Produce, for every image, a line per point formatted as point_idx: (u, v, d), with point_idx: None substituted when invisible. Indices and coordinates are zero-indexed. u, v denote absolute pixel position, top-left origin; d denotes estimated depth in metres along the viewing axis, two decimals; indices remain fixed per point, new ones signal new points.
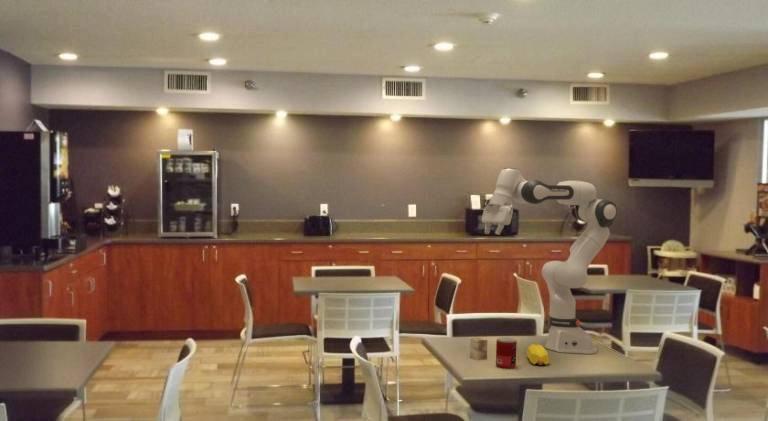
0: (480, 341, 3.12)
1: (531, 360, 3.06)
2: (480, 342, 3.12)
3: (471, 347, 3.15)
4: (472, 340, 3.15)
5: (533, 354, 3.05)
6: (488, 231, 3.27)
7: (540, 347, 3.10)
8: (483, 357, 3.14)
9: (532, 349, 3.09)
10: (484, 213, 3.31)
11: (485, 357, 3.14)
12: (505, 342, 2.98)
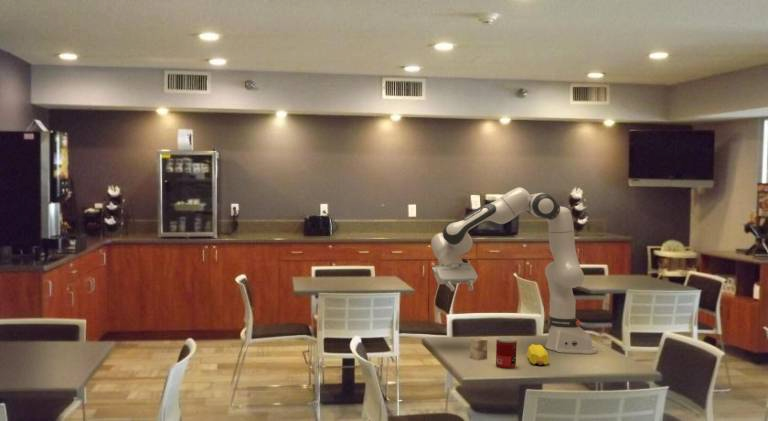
0: (480, 341, 3.12)
1: (531, 360, 3.06)
2: (480, 342, 3.12)
3: (471, 347, 3.15)
4: (472, 340, 3.15)
5: (533, 354, 3.05)
6: (469, 287, 3.28)
7: (540, 347, 3.10)
8: (483, 357, 3.14)
9: (532, 349, 3.09)
10: None
11: (485, 357, 3.14)
12: (505, 342, 2.98)
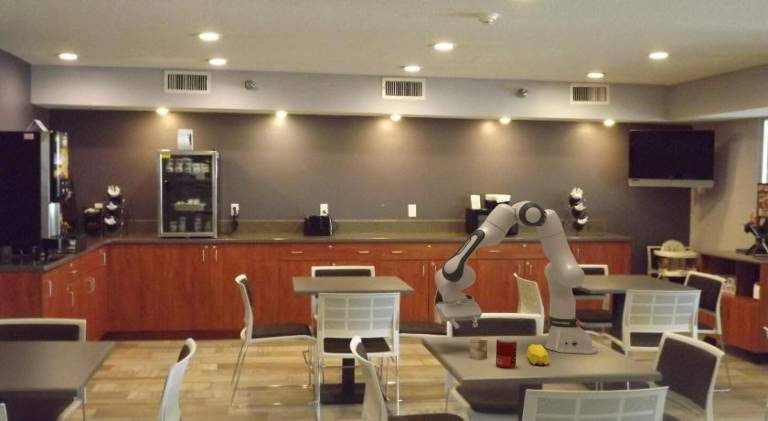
0: (480, 341, 3.12)
1: (531, 360, 3.06)
2: (480, 342, 3.12)
3: (471, 347, 3.15)
4: (472, 340, 3.15)
5: (533, 354, 3.05)
6: (473, 324, 3.25)
7: (540, 347, 3.10)
8: (483, 357, 3.14)
9: (532, 349, 3.09)
10: None
11: (485, 357, 3.14)
12: (505, 342, 2.98)
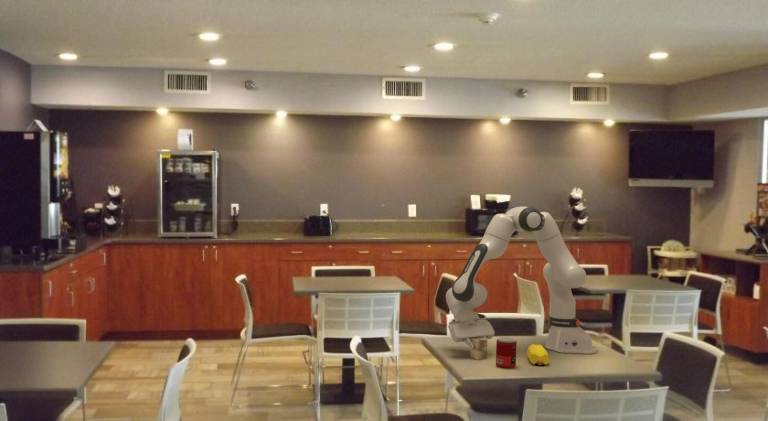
0: (480, 341, 3.12)
1: (531, 360, 3.06)
2: (480, 342, 3.12)
3: None
4: (472, 340, 3.15)
5: (533, 354, 3.05)
6: None
7: (540, 347, 3.10)
8: (483, 357, 3.14)
9: (532, 349, 3.09)
10: None
11: (485, 357, 3.14)
12: (505, 342, 2.98)
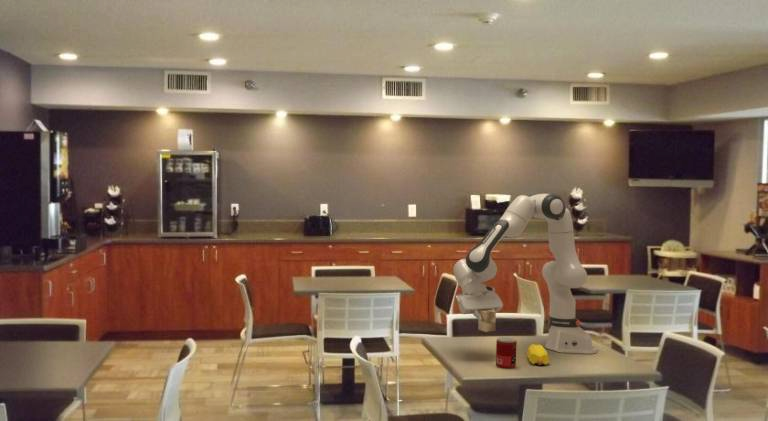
0: (488, 313, 3.09)
1: (530, 360, 3.06)
2: (488, 313, 3.08)
3: None
4: (480, 312, 3.11)
5: (532, 354, 3.05)
6: None
7: (540, 347, 3.10)
8: (492, 329, 3.10)
9: (532, 349, 3.09)
10: None
11: (493, 329, 3.10)
12: (505, 342, 2.98)
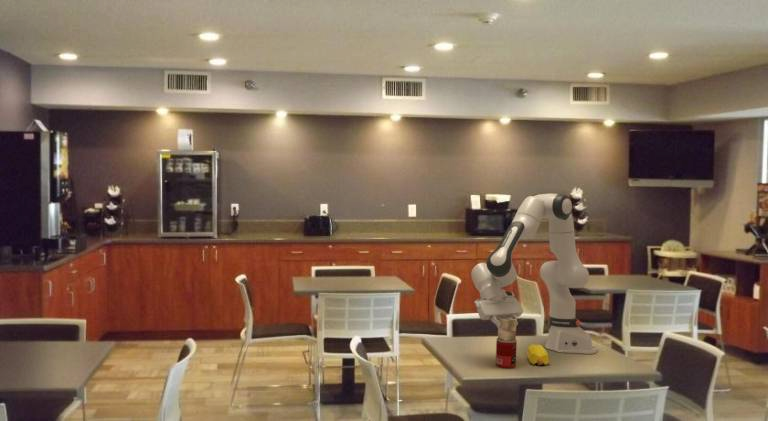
0: (509, 321, 2.99)
1: (530, 360, 3.06)
2: (508, 322, 2.99)
3: (499, 327, 3.02)
4: (500, 320, 3.01)
5: (532, 354, 3.05)
6: None
7: (540, 347, 3.10)
8: (512, 337, 3.00)
9: (532, 349, 3.09)
10: None
11: (514, 338, 3.00)
12: (505, 342, 2.98)
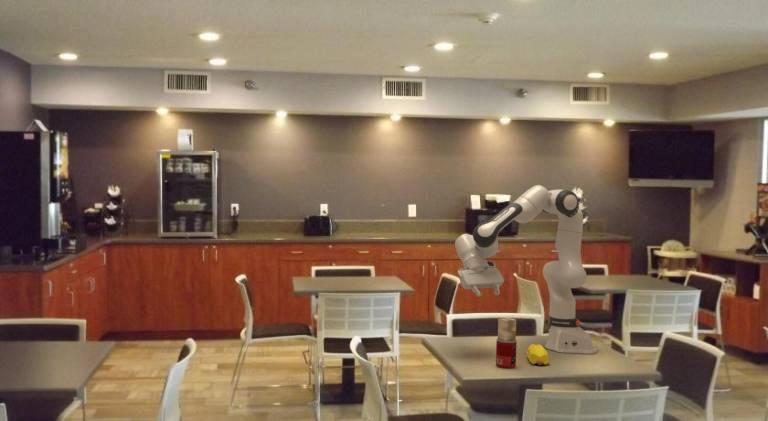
0: (509, 321, 2.99)
1: (530, 360, 3.06)
2: (508, 322, 2.99)
3: (499, 327, 3.02)
4: (500, 320, 3.01)
5: (532, 354, 3.05)
6: (495, 292, 3.15)
7: (540, 347, 3.10)
8: (512, 338, 3.00)
9: (532, 349, 3.09)
10: None
11: (514, 338, 3.00)
12: (505, 342, 2.98)
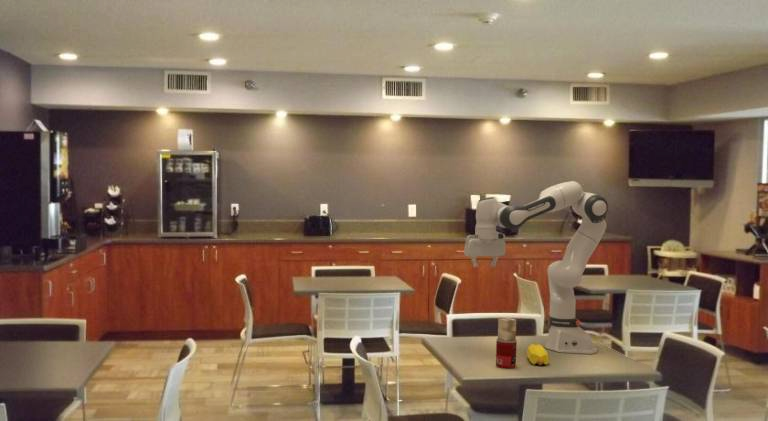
0: (509, 321, 2.99)
1: (531, 360, 3.06)
2: (508, 322, 2.99)
3: (499, 327, 3.02)
4: (500, 320, 3.01)
5: (533, 354, 3.05)
6: (492, 264, 3.29)
7: (540, 347, 3.10)
8: (512, 338, 3.00)
9: (532, 349, 3.09)
10: None
11: (514, 338, 3.00)
12: (505, 342, 2.98)
